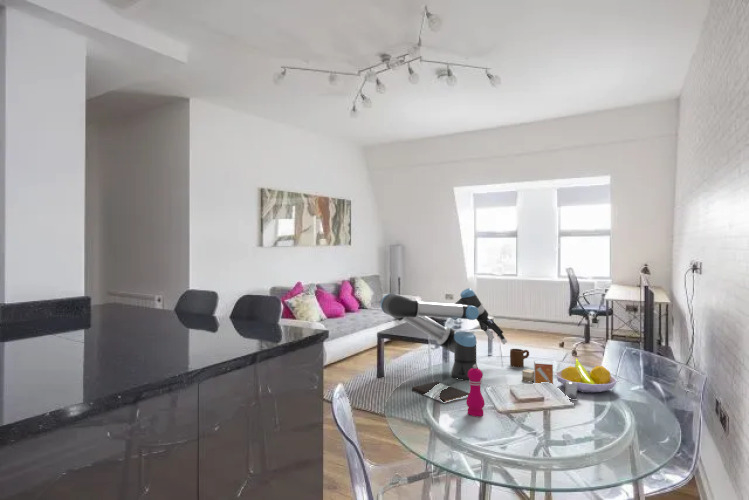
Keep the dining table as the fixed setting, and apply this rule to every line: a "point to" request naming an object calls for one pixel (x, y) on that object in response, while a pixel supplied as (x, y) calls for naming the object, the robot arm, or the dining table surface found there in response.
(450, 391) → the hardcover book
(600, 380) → the fruit bowl
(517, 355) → the mug
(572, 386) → the grey metal tin
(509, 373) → the dining table surface
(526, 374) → the birch block
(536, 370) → the small box
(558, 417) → the dining table surface
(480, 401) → the pepper mill
